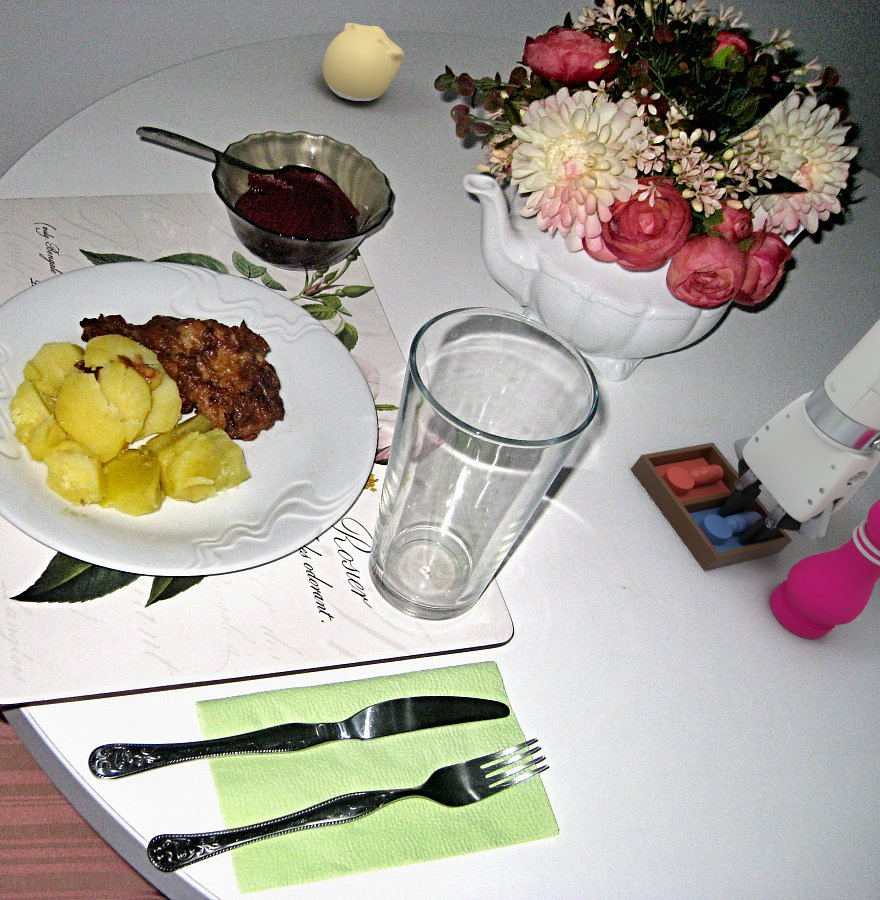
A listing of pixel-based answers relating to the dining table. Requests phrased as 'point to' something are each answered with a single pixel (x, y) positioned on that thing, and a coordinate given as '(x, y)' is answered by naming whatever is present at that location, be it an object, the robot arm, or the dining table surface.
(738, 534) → the blue pad
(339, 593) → the dining table surface
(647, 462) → the divided wooden tray
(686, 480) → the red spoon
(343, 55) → the sculpture
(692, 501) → the red pad
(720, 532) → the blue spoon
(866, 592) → the pink bowling pin
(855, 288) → the dining table surface
